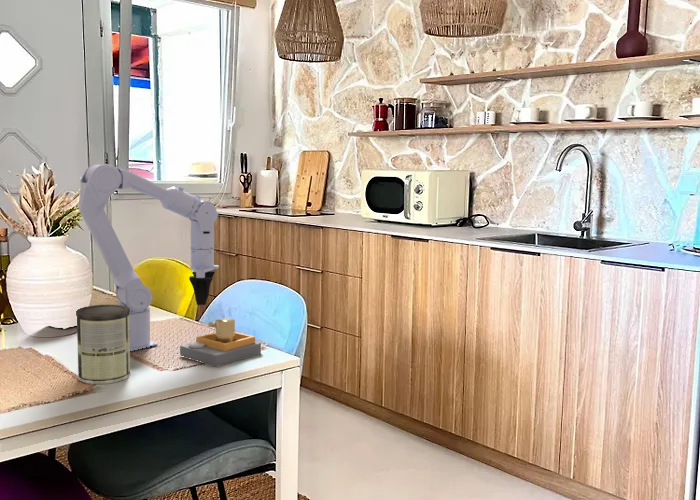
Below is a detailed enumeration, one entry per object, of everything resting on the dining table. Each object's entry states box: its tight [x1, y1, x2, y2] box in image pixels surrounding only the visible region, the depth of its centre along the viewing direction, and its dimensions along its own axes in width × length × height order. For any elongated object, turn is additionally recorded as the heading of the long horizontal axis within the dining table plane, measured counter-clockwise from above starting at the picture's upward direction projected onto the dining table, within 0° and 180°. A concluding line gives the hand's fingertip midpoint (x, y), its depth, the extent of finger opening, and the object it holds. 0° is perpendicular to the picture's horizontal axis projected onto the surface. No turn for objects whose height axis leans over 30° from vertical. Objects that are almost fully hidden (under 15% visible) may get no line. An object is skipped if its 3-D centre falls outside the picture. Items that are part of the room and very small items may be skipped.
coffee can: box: [76, 304, 131, 385], centre depth 135 cm, size 10×10×14 cm
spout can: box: [208, 317, 236, 343], centre depth 154 cm, size 6×4×8 cm
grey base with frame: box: [179, 331, 262, 368], centre depth 154 cm, size 14×12×4 cm
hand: (202, 301), depth 168 cm, fingers open, 7 cm apart
